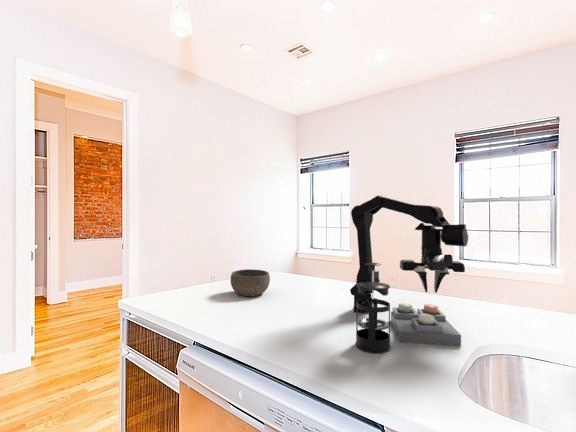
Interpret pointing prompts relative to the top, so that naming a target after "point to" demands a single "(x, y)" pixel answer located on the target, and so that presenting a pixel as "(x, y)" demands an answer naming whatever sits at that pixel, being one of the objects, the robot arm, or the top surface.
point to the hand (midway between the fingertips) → (430, 292)
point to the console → (424, 328)
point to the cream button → (426, 318)
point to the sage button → (405, 307)
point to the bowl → (250, 282)
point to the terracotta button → (430, 308)
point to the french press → (372, 318)
